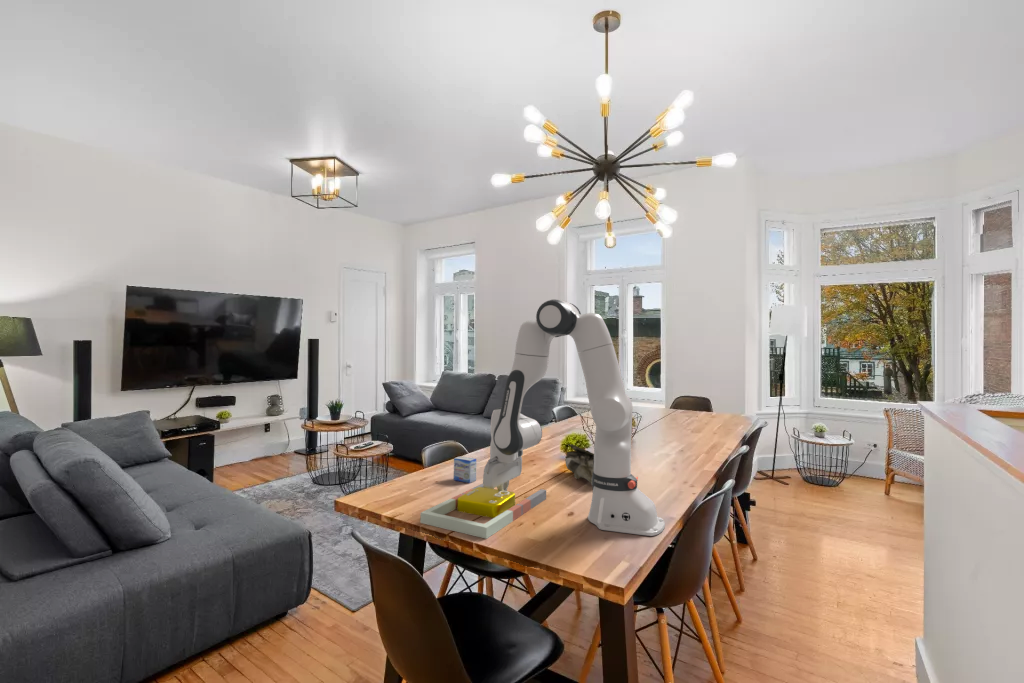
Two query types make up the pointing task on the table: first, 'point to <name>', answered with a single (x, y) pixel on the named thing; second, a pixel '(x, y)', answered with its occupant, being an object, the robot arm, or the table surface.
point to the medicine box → (464, 469)
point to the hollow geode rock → (580, 463)
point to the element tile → (486, 502)
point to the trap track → (439, 519)
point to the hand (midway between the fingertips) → (502, 495)
